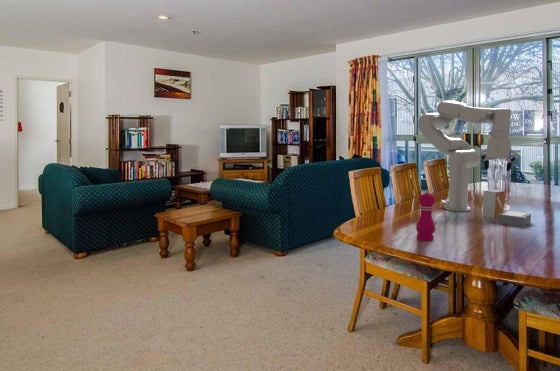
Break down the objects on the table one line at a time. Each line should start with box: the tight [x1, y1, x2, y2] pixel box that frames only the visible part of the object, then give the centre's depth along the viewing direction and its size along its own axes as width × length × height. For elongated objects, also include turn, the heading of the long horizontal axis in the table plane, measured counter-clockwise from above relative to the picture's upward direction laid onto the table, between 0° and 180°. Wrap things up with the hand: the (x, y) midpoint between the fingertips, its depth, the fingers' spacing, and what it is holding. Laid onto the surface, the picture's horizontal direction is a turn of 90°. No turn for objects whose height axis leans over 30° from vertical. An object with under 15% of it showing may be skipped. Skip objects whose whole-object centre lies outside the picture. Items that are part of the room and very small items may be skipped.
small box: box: [482, 188, 506, 219], centre depth 211 cm, size 8×6×13 cm
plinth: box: [496, 210, 532, 228], centre depth 198 cm, size 11×11×4 cm
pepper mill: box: [415, 189, 436, 242], centre depth 170 cm, size 7×7×20 cm
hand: (497, 169), depth 208 cm, fingers open, 9 cm apart
